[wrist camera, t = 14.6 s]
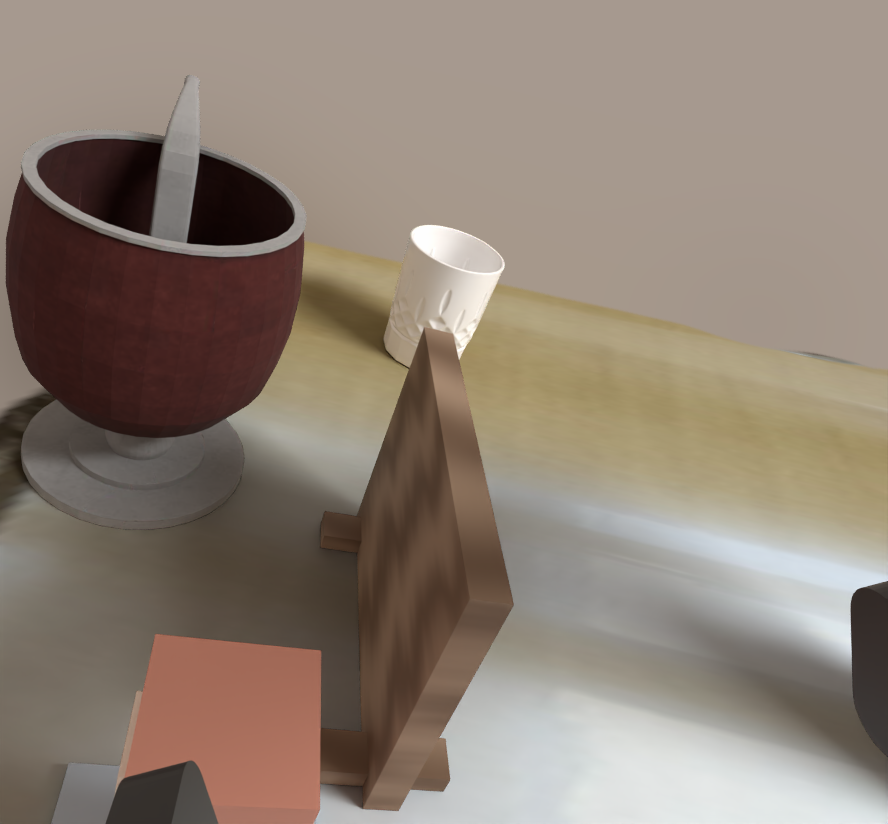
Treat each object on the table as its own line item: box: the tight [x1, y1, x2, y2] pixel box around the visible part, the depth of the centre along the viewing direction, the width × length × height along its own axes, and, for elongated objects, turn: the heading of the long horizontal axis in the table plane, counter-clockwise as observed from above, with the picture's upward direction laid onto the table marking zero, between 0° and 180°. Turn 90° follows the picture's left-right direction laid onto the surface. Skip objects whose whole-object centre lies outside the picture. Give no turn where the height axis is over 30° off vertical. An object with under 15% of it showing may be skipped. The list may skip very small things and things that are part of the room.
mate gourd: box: [6, 75, 306, 530], centre depth 42 cm, size 16×14×20 cm
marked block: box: [114, 634, 321, 824], centre depth 25 cm, size 5×5×12 cm
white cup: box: [383, 225, 504, 368], centre depth 64 cm, size 8×8×10 cm
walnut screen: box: [320, 327, 514, 811], centre depth 37 cm, size 18×6×14 cm, turn 6°
